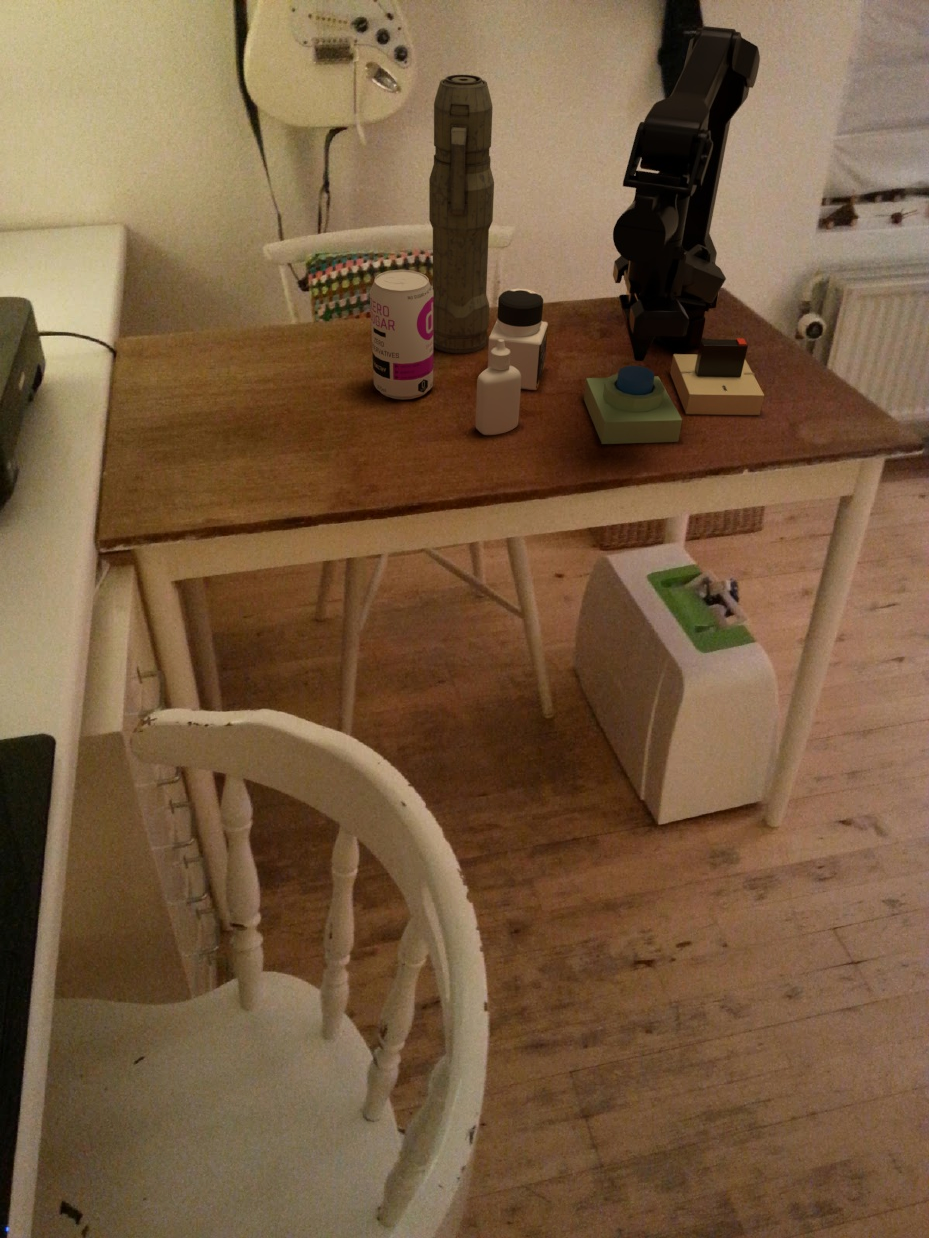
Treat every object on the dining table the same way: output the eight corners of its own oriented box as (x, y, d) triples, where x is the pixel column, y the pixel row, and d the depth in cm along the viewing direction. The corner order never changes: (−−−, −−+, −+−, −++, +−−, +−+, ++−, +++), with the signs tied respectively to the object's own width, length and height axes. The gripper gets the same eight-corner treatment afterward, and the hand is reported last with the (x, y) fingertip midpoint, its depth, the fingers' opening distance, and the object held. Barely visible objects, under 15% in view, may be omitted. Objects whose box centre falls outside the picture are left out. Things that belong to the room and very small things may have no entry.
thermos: (429, 358, 138) (428, 89, 116) (428, 324, 147) (428, 68, 124) (489, 358, 139) (501, 90, 116) (485, 324, 148) (496, 69, 125)
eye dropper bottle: (474, 419, 125) (477, 332, 117) (517, 420, 125) (523, 333, 117) (475, 436, 122) (478, 348, 114) (519, 436, 122) (525, 348, 114)
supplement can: (441, 379, 133) (442, 273, 124) (420, 406, 127) (419, 296, 118) (388, 370, 135) (384, 264, 126) (364, 395, 129) (359, 287, 120)
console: (669, 373, 137) (672, 352, 135) (739, 374, 137) (744, 354, 135) (684, 414, 128) (689, 393, 125) (760, 415, 128) (765, 394, 126)
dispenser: (583, 399, 130) (587, 365, 127) (654, 397, 131) (660, 363, 128) (601, 444, 121) (606, 409, 118) (678, 442, 122) (685, 407, 119)
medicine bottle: (537, 391, 131) (543, 307, 124) (486, 385, 132) (489, 301, 125) (544, 368, 137) (551, 286, 129) (495, 363, 138) (499, 281, 130)
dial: (697, 376, 129) (703, 343, 126) (694, 369, 131) (700, 337, 128) (740, 377, 130) (748, 344, 126) (737, 370, 131) (745, 338, 128)
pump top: (612, 380, 124) (614, 366, 123) (647, 379, 125) (649, 365, 124) (620, 397, 121) (622, 382, 120) (656, 396, 121) (658, 381, 120)
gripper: (746, 265, 103) (717, 396, 114) (710, 209, 117) (687, 329, 128) (644, 263, 103) (624, 394, 113) (620, 207, 117) (605, 328, 127)
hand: (638, 359), depth 120 cm, fingers closed
